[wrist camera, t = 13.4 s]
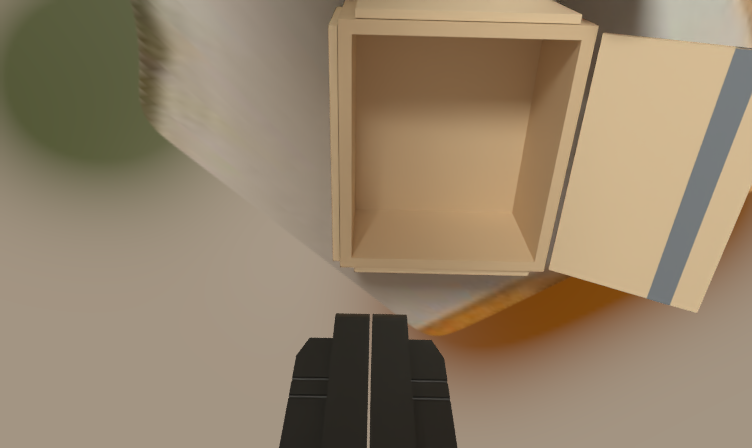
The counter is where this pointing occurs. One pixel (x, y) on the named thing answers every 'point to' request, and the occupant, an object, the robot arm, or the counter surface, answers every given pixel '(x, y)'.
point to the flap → (658, 168)
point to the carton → (452, 131)
